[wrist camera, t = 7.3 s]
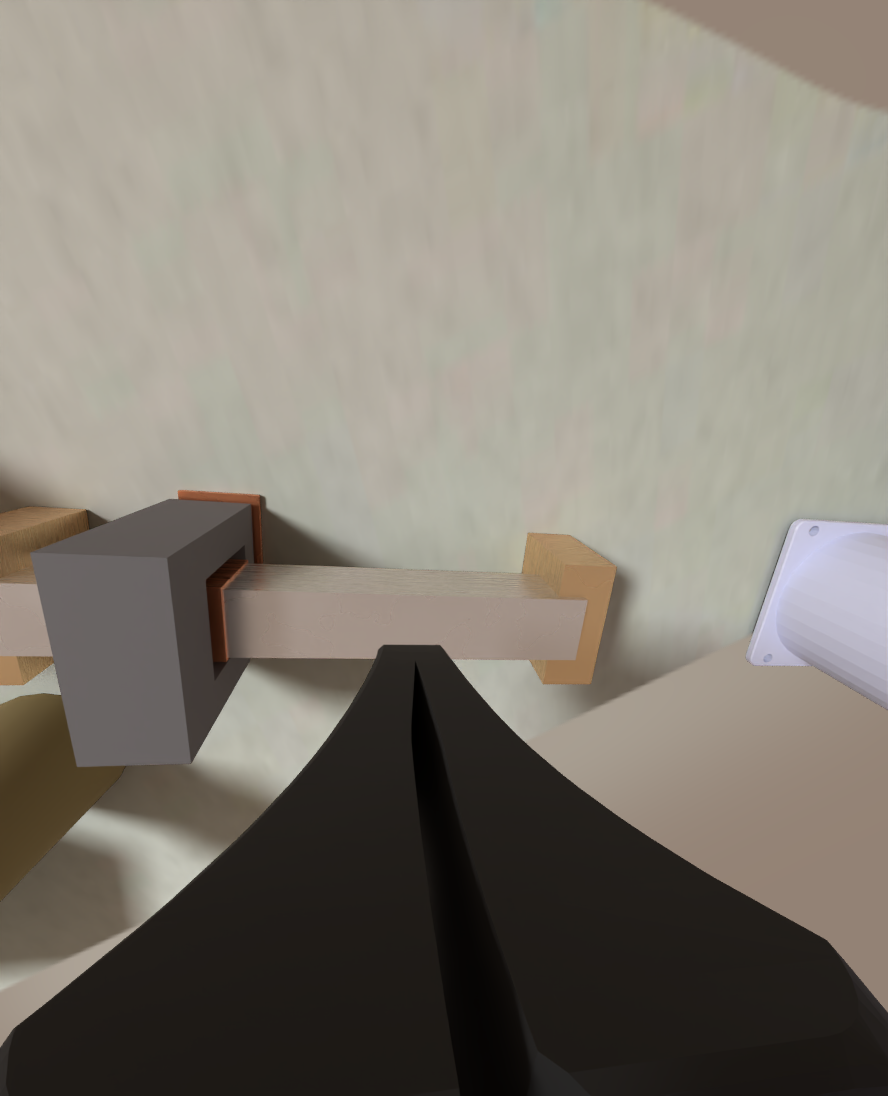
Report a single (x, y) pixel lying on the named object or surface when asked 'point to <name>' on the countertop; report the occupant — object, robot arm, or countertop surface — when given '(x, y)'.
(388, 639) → the rail
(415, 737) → the robot arm
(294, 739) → the countertop surface
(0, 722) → the brown pawn figure
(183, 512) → the collar
